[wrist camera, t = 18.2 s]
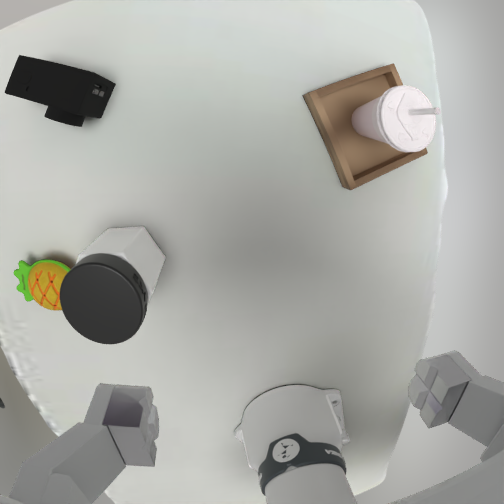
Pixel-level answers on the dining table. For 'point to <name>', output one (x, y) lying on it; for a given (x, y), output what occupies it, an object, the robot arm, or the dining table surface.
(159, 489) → the dining table surface
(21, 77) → the digital camera
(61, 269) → the toy pineapple
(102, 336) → the jar
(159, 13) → the dining table surface
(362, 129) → the smoothie
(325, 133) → the tray
